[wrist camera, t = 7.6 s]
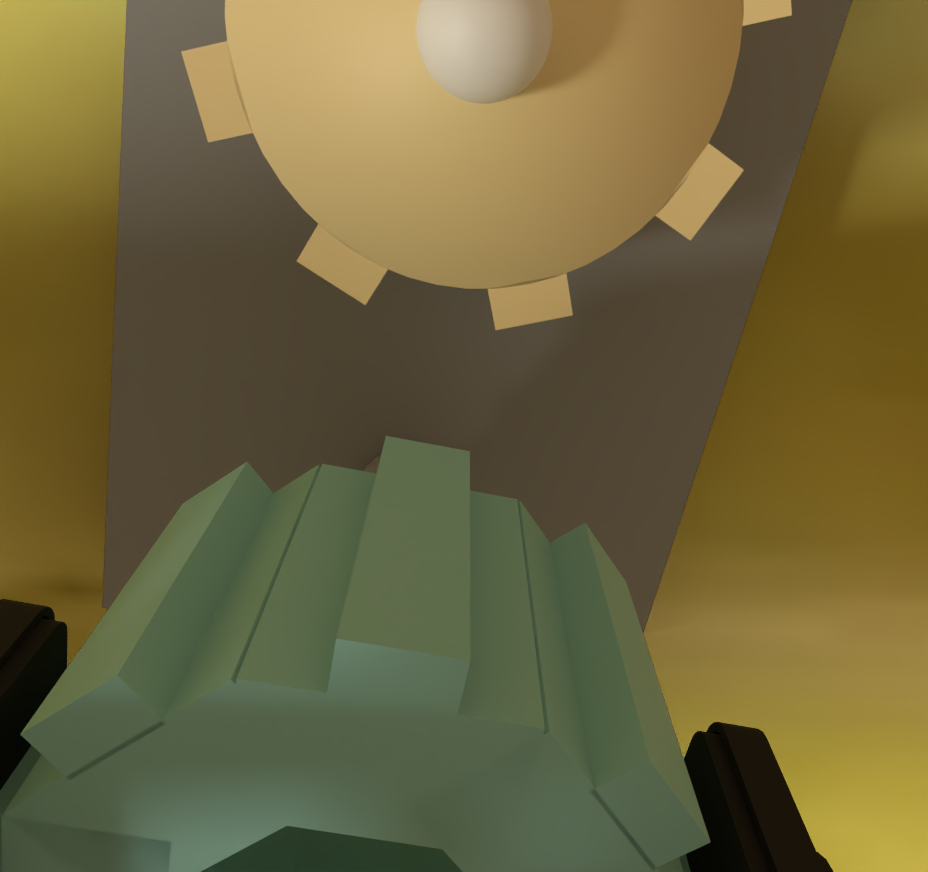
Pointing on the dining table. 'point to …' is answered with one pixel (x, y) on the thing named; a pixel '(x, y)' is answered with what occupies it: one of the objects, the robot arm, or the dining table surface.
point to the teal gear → (358, 694)
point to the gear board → (421, 339)
